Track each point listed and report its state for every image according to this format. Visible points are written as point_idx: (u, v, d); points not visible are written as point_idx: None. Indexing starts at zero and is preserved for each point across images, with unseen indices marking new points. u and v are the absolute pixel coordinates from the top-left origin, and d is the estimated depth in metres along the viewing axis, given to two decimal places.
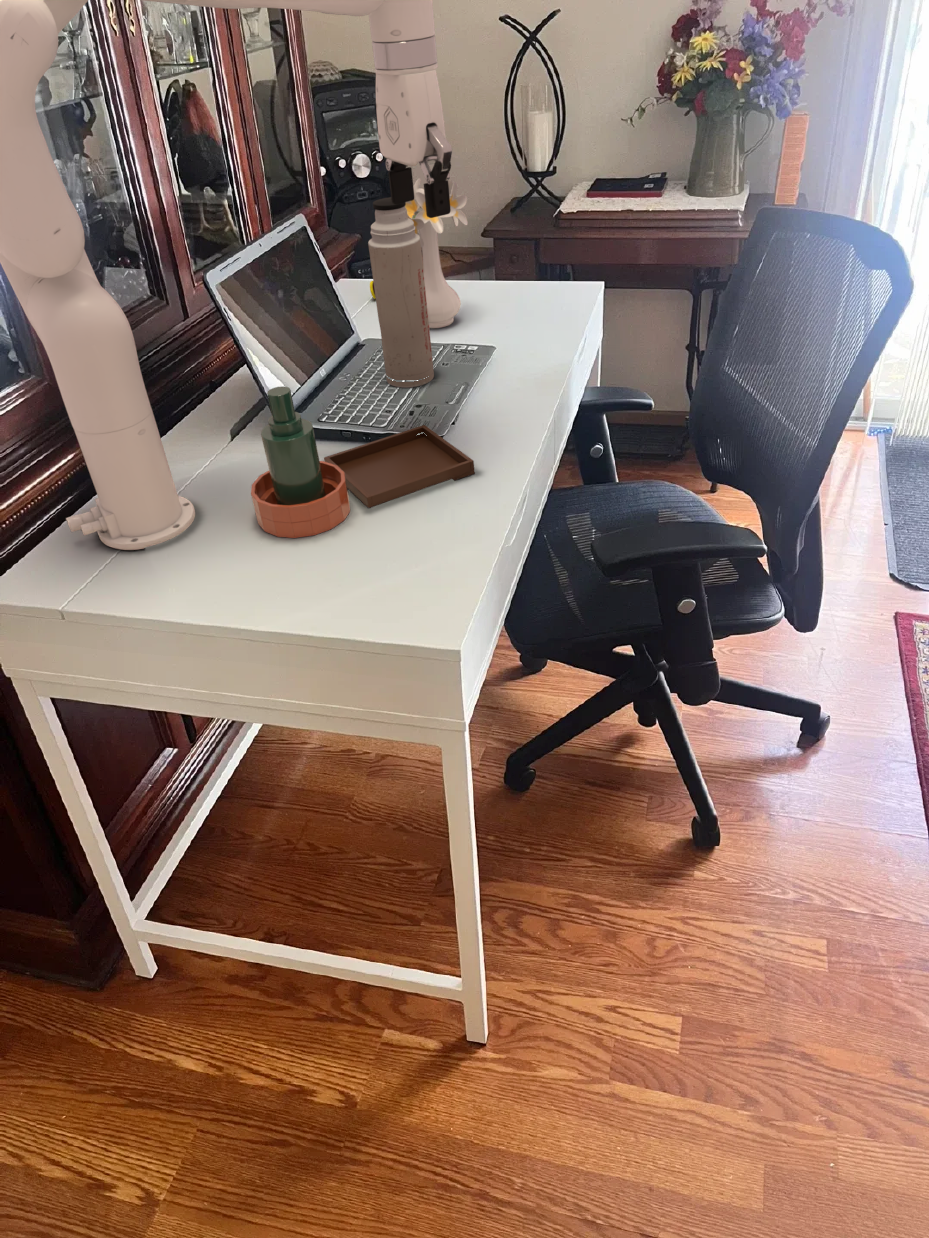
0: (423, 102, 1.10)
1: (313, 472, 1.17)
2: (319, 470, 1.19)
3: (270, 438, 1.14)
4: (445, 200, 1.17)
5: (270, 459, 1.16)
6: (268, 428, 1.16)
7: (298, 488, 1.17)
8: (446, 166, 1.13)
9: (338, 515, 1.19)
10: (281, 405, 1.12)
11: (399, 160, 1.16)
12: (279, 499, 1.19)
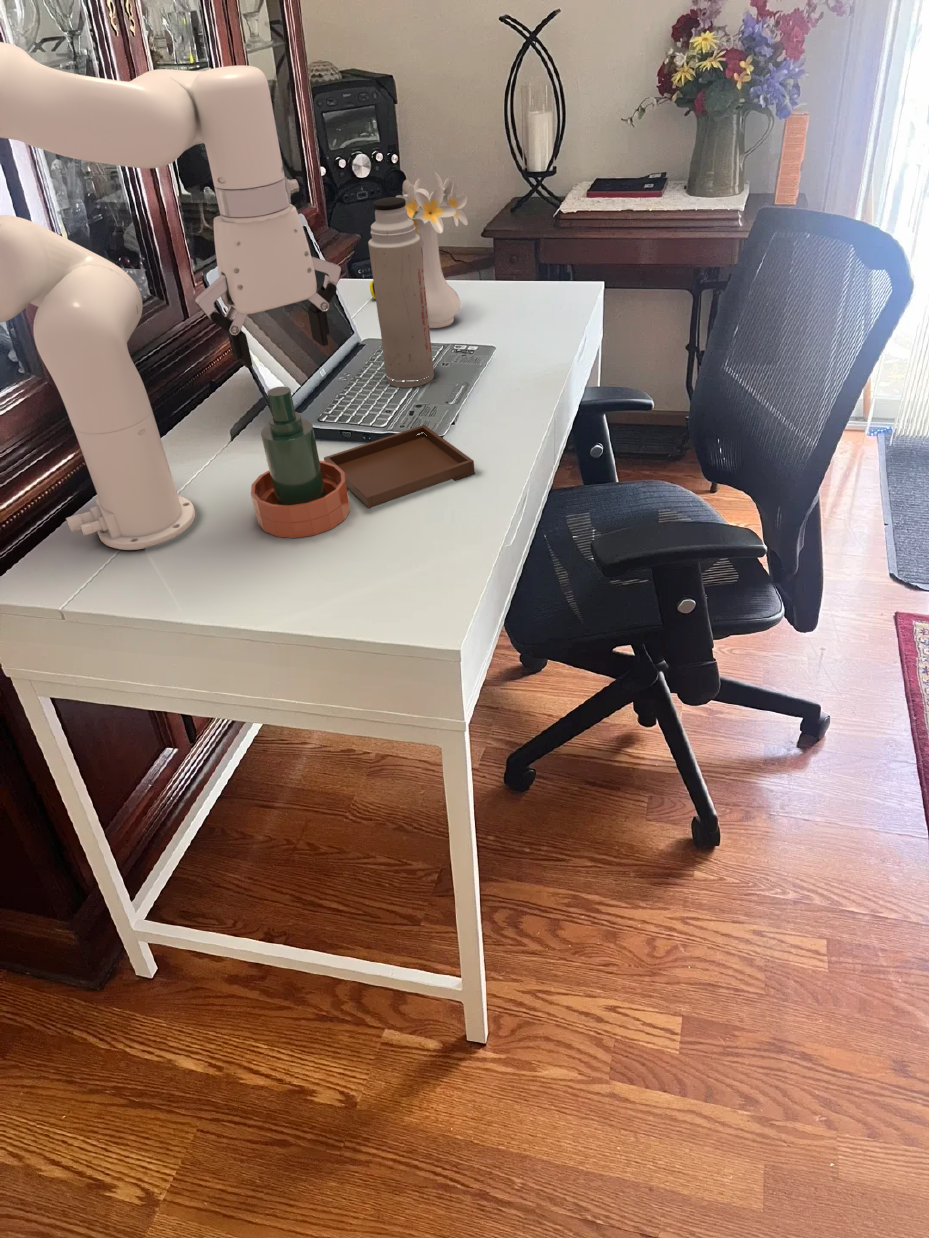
0: (217, 249, 1.02)
1: (313, 472, 1.17)
2: (319, 470, 1.19)
3: (270, 438, 1.14)
4: (235, 352, 1.08)
5: (270, 459, 1.16)
6: (268, 428, 1.16)
7: (298, 488, 1.17)
8: (209, 318, 1.05)
9: (338, 515, 1.19)
10: (281, 405, 1.12)
11: None
12: (279, 499, 1.19)
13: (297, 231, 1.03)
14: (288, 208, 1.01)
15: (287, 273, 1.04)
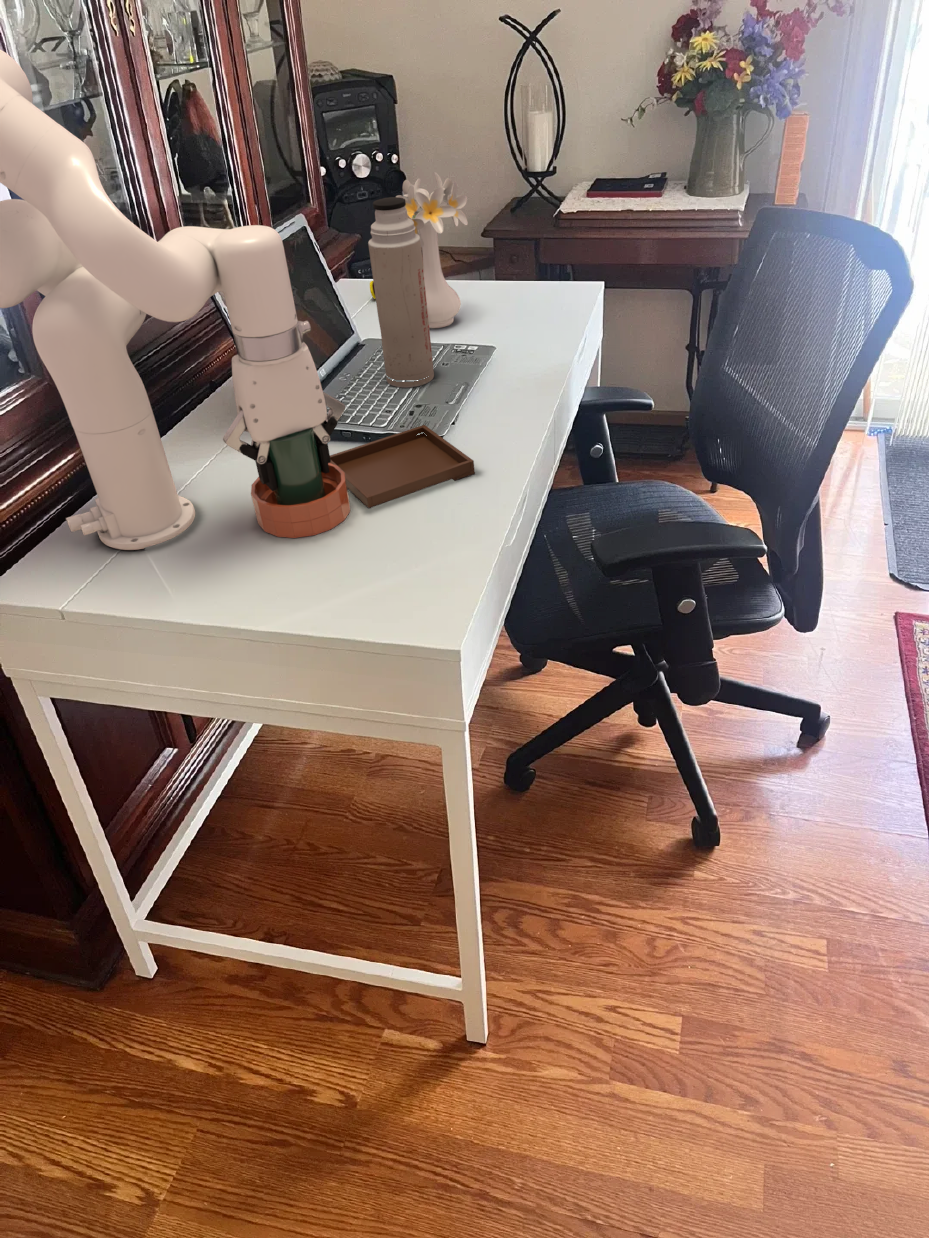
0: (234, 386, 1.10)
1: (313, 472, 1.17)
2: (319, 470, 1.19)
3: None
4: (262, 477, 1.17)
5: (270, 459, 1.16)
6: None
7: (298, 488, 1.17)
8: None
9: (338, 515, 1.19)
10: None
11: None
12: (278, 499, 1.19)
13: (308, 368, 1.11)
14: (300, 349, 1.09)
15: (299, 405, 1.12)
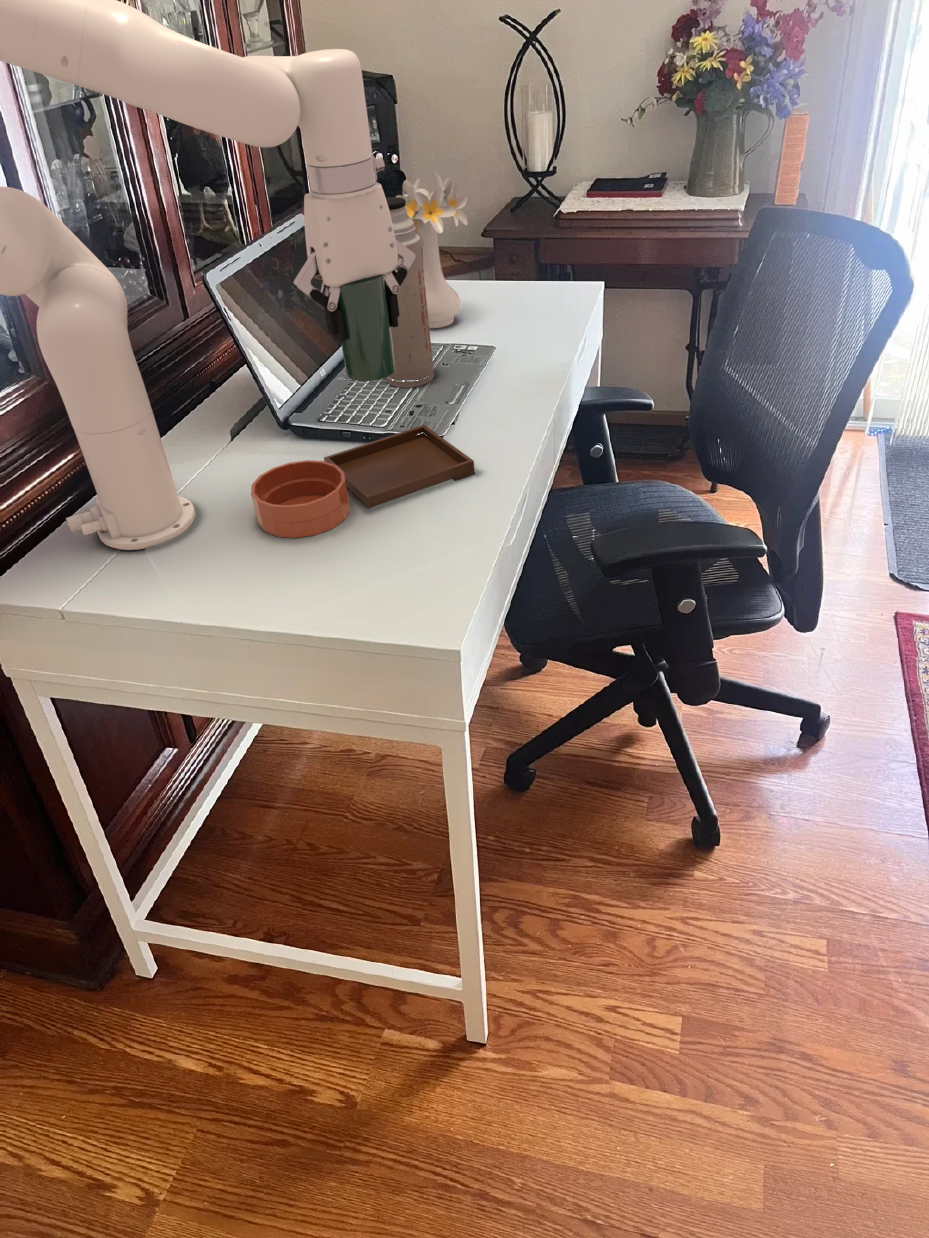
0: (307, 225, 1.08)
1: (383, 322, 1.15)
2: (388, 322, 1.16)
3: None
4: (331, 327, 1.14)
5: (340, 308, 1.13)
6: None
7: (368, 339, 1.15)
8: (309, 295, 1.11)
9: (338, 515, 1.19)
10: None
11: None
12: (347, 352, 1.17)
13: (382, 208, 1.08)
14: (375, 185, 1.07)
15: (372, 248, 1.10)
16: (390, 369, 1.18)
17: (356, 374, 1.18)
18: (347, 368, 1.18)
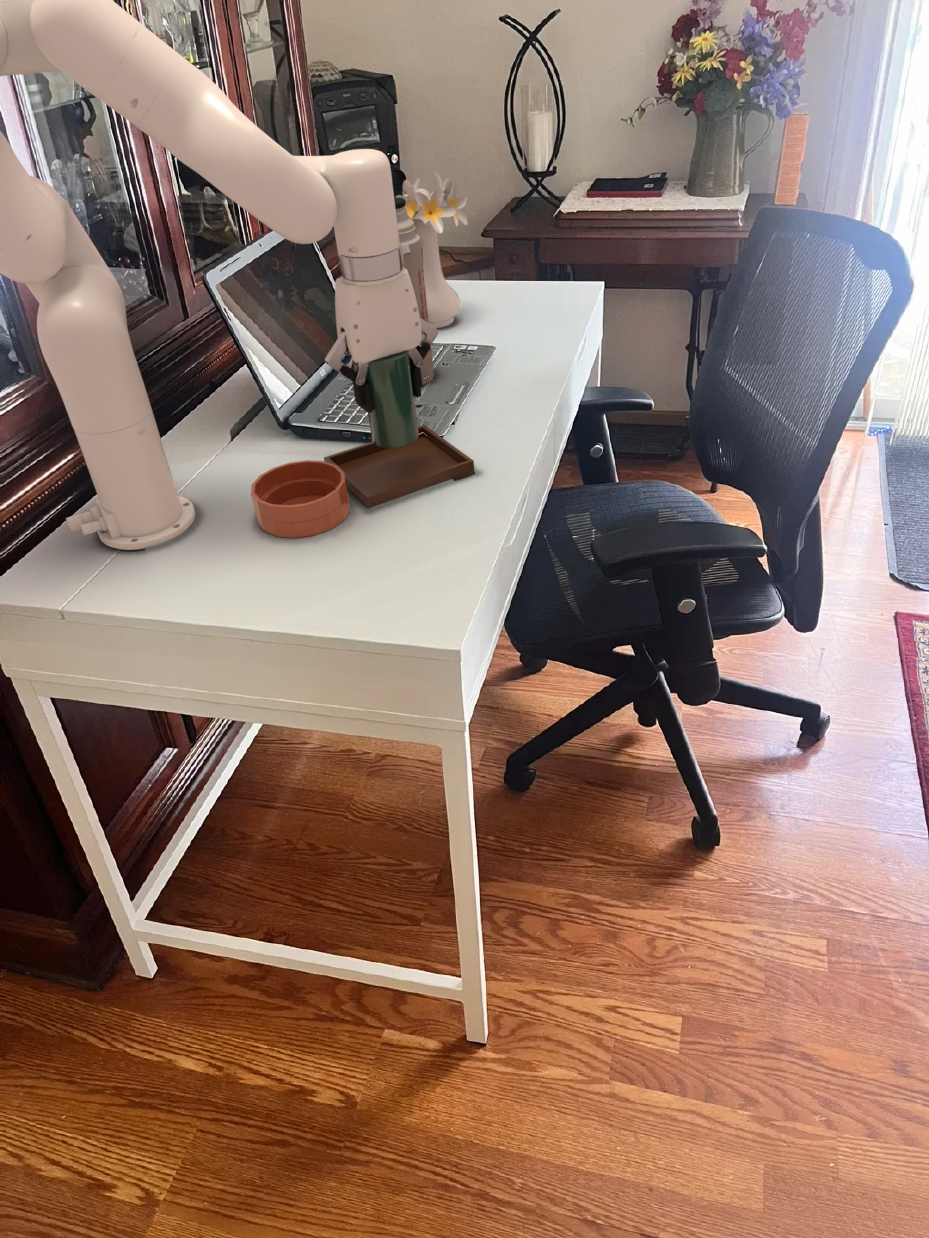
0: (338, 307, 1.15)
1: (408, 394, 1.22)
2: (412, 393, 1.23)
3: None
4: (359, 399, 1.21)
5: (367, 381, 1.21)
6: None
7: (393, 410, 1.22)
8: None
9: (338, 515, 1.19)
10: None
11: None
12: (373, 421, 1.24)
13: (408, 291, 1.16)
14: (402, 271, 1.14)
15: (398, 327, 1.17)
16: (414, 436, 1.26)
17: (381, 441, 1.25)
18: (373, 435, 1.26)
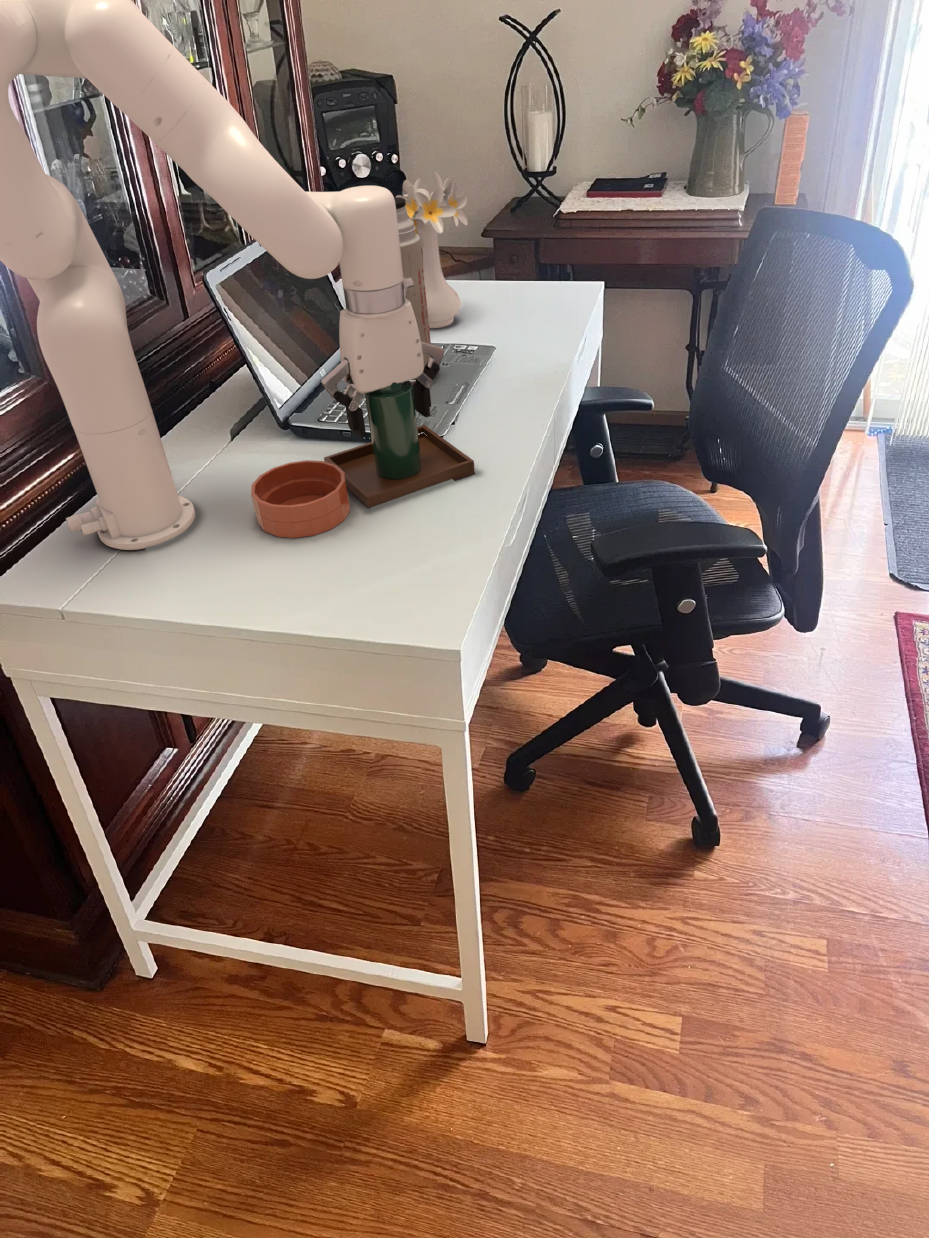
0: (342, 338, 1.17)
1: (411, 428, 1.25)
2: (416, 427, 1.26)
3: (374, 395, 1.22)
4: (352, 424, 1.23)
5: (372, 416, 1.23)
6: None
7: (397, 443, 1.25)
8: (332, 397, 1.20)
9: (338, 515, 1.19)
10: None
11: None
12: (378, 454, 1.27)
13: (411, 323, 1.18)
14: (405, 304, 1.16)
15: (401, 358, 1.20)
16: (417, 468, 1.29)
17: (385, 473, 1.28)
18: (377, 467, 1.29)
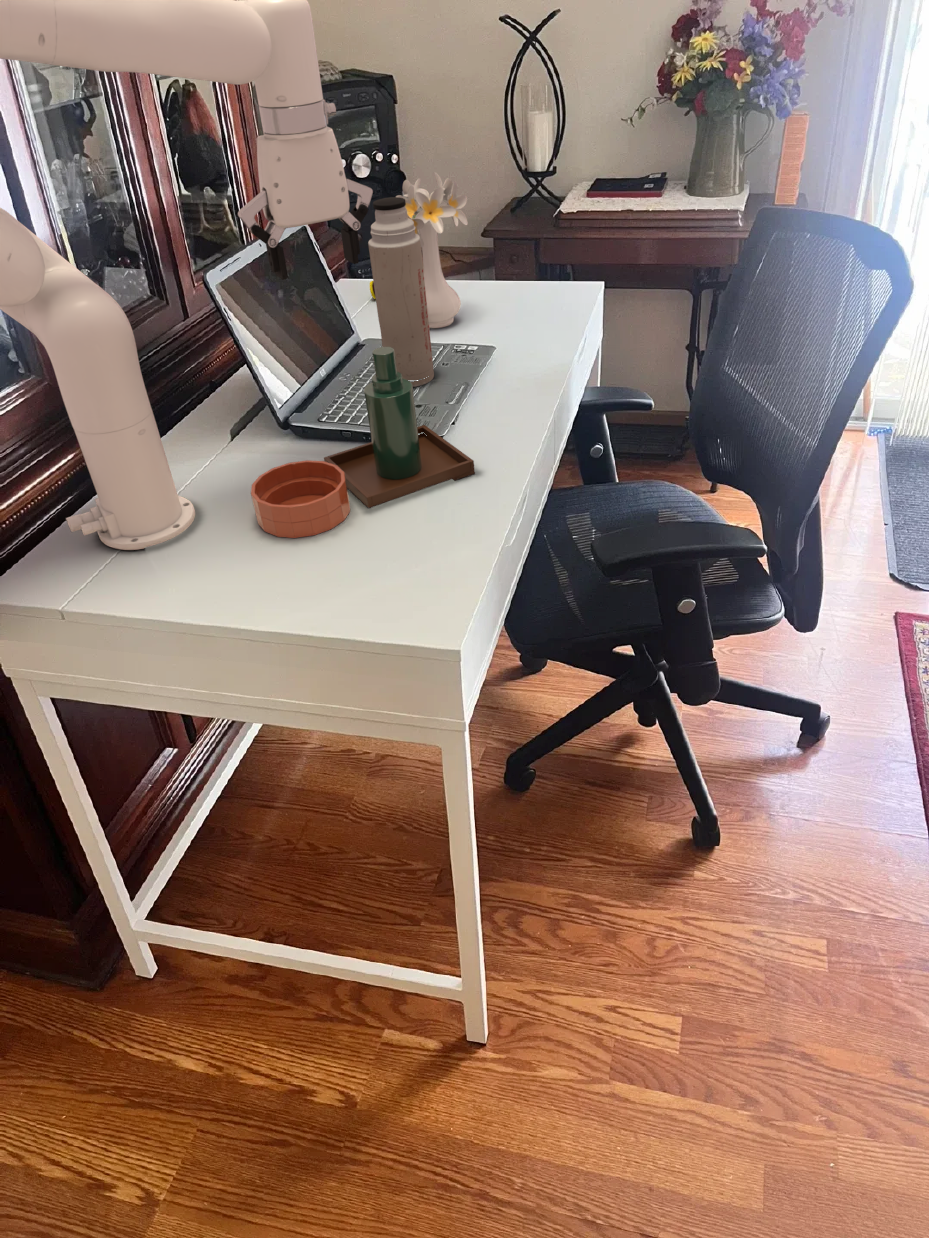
0: (259, 166, 1.12)
1: (411, 428, 1.25)
2: (416, 427, 1.26)
3: (374, 395, 1.22)
4: (273, 264, 1.17)
5: (372, 416, 1.23)
6: (370, 387, 1.24)
7: (397, 443, 1.25)
8: (250, 231, 1.14)
9: (338, 515, 1.19)
10: (385, 364, 1.20)
11: None
12: (378, 454, 1.27)
13: (332, 151, 1.12)
14: (325, 128, 1.10)
15: (322, 190, 1.13)
16: (417, 468, 1.29)
17: (385, 473, 1.28)
18: (377, 467, 1.29)
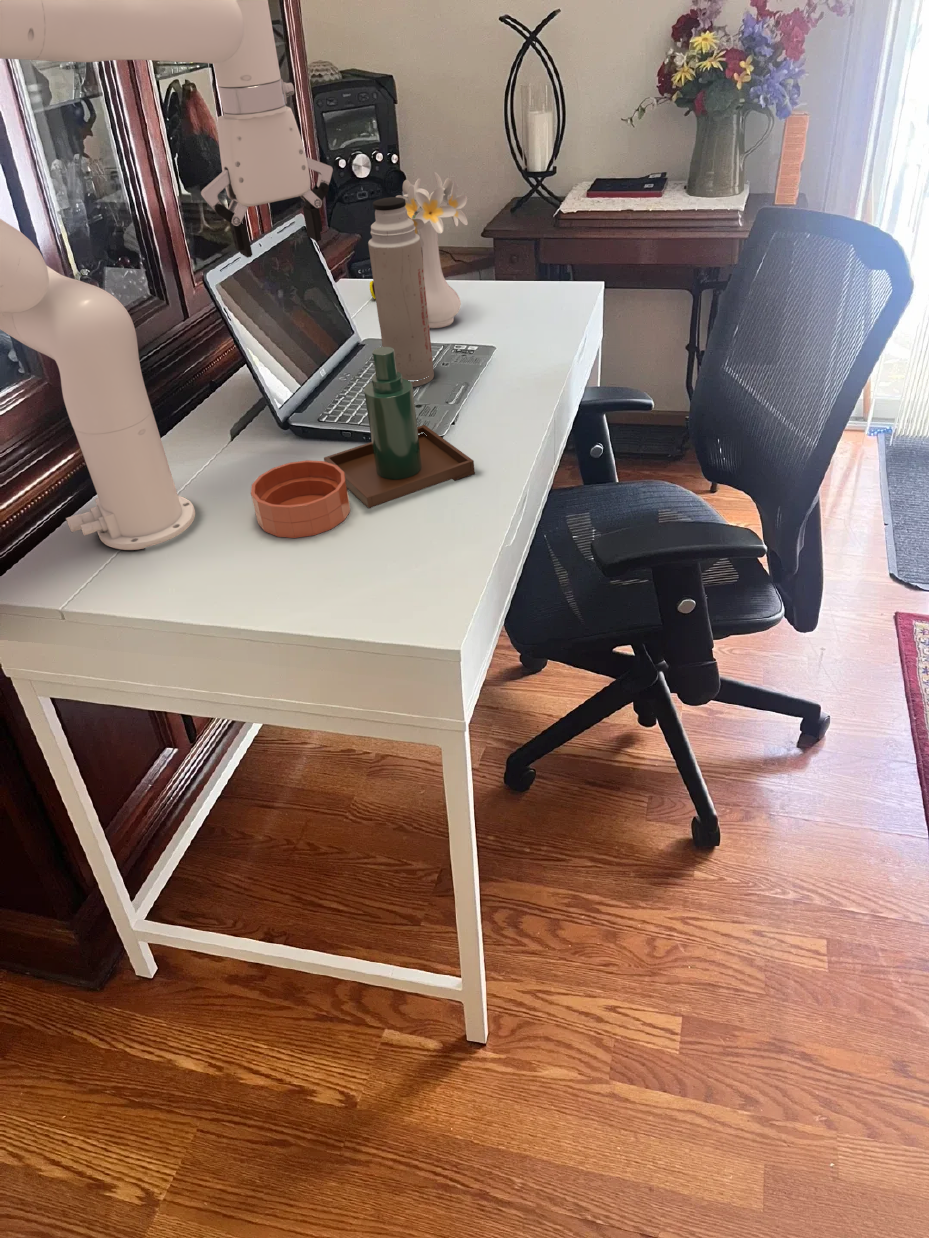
0: (220, 146, 1.14)
1: (411, 428, 1.25)
2: (416, 427, 1.26)
3: (374, 395, 1.22)
4: (237, 243, 1.20)
5: (372, 416, 1.23)
6: (370, 387, 1.24)
7: (397, 443, 1.25)
8: (213, 210, 1.17)
9: (338, 515, 1.19)
10: (385, 364, 1.20)
11: None
12: (378, 454, 1.27)
13: (292, 130, 1.15)
14: (284, 108, 1.13)
15: (283, 169, 1.16)
16: (417, 468, 1.29)
17: (385, 473, 1.28)
18: (377, 467, 1.29)
